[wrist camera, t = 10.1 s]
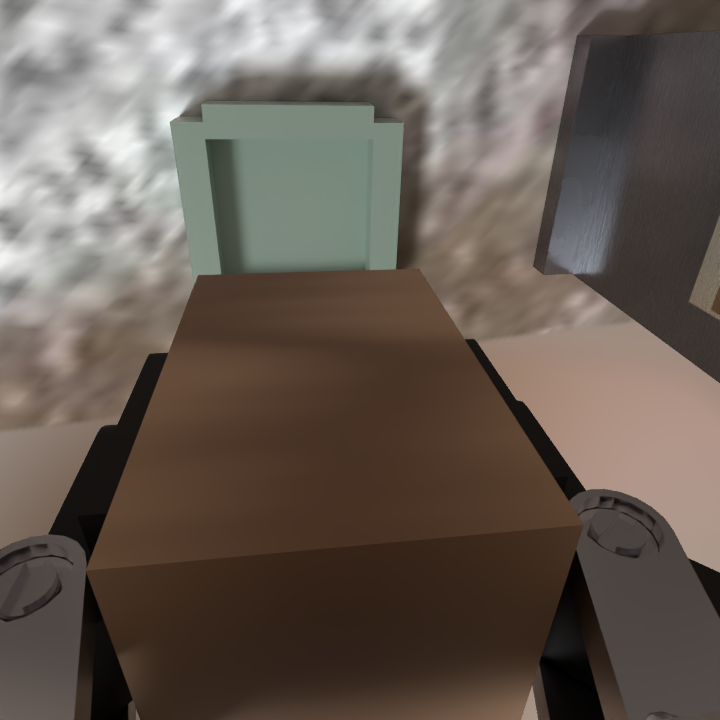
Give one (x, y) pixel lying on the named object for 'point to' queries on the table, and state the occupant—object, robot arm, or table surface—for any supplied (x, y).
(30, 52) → the table surface
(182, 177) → the tray
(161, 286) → the table surface
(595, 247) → the block
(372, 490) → the block
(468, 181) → the table surface
